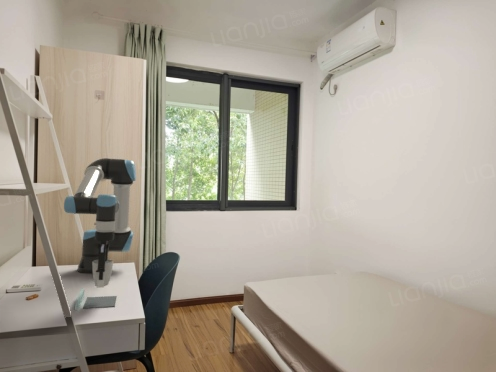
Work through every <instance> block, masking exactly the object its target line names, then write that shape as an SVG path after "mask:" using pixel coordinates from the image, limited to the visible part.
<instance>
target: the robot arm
mask: <svg viewBox="0 0 496 372" xmlns="http://www.w3.org/2000/svg"><path fill="white" fill-rule="evenodd" d="M136 170H137V169H136V164H135V162H134V161H133V160H132V159H131V160H129V159H124V158H123V159H122V158H121V159H120V158H100V159H97V160H95V161H93V162H91V163H89V165H87V167H86V168H85V169H84V177H83V178H82V180H81V182H80V184H79V186H78V187H77V190H76V192H75V193H74V195H73V196H72V195H71V196H69V195H68V196H66V197H65V199H64V202H63V210H64V211H65V213H66V214H73V215H74V214H75V215H76V214H77V215H83V214H84V215H95V222H94V224H93V225H94V226H95V228H93V229H88V230H85V231H84V232H83V235H82V248H81V252H82V253H81V258H80V261H79V263H78V266H77V272H79V273H83V274H93V265H92V262H93V261H94V260H98V270H96V272H98V276H97V286H96V288H97V289H98V288H105V286H104V281H105V261H107V259H109V258H108V257H109V252H113V253H114V252H117V253H119V252H121V253H123V252H129V251H130V250H131V246H132V243H133V237H134V231H132V229H131V227H130V226H129V217H130V216H129V215H130V214H129V213H130V193H131V186H132V185H133V184H134V182H135V181H136V180H137V172H136ZM102 180H110V183H111V185H112V186H113V194H98V195H97V197H94V196H95V193H96V190H97V188H98V186H99V184H100V182H101V181H102ZM100 268H103V269H100Z"/></svg>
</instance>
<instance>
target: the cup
mask: <svg viewBox="0 0 496 372" xmlns="http://www.w3.org/2000/svg"><path fill="white" fill-rule="evenodd" d="M92 265H93V273H92V277H93V282H94V286H96V287H97V276H98V272H96V270H98V260H94V261H93V262H92ZM113 266H114V259H109V258H108V259H107V261H105V281H104V287H106V286H109V283H110V281H111V277H112V274H113ZM100 269H103V268H100Z"/></svg>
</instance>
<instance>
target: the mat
mask: <svg viewBox="0 0 496 372" xmlns="http://www.w3.org/2000/svg"><path fill="white" fill-rule="evenodd" d="M117 296H118V295H109V296H90V297H89V296H88V297H86V299H85V301H84V303H83V306H82V309H83V310H84V309H85V310H86V309H99V308H100V309H102V308H103V309H104V308H115V307H116V301H117Z"/></svg>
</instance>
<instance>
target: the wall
mask: <svg viewBox="0 0 496 372" xmlns="http://www.w3.org/2000/svg"><path fill="white" fill-rule="evenodd" d="M84 299H85V288H81V289H80V292H79V293H78V295H77V298H76V299H75V307H74V309H75V311H79V309H80V306H81V304H82V302H83V300H84Z"/></svg>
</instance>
